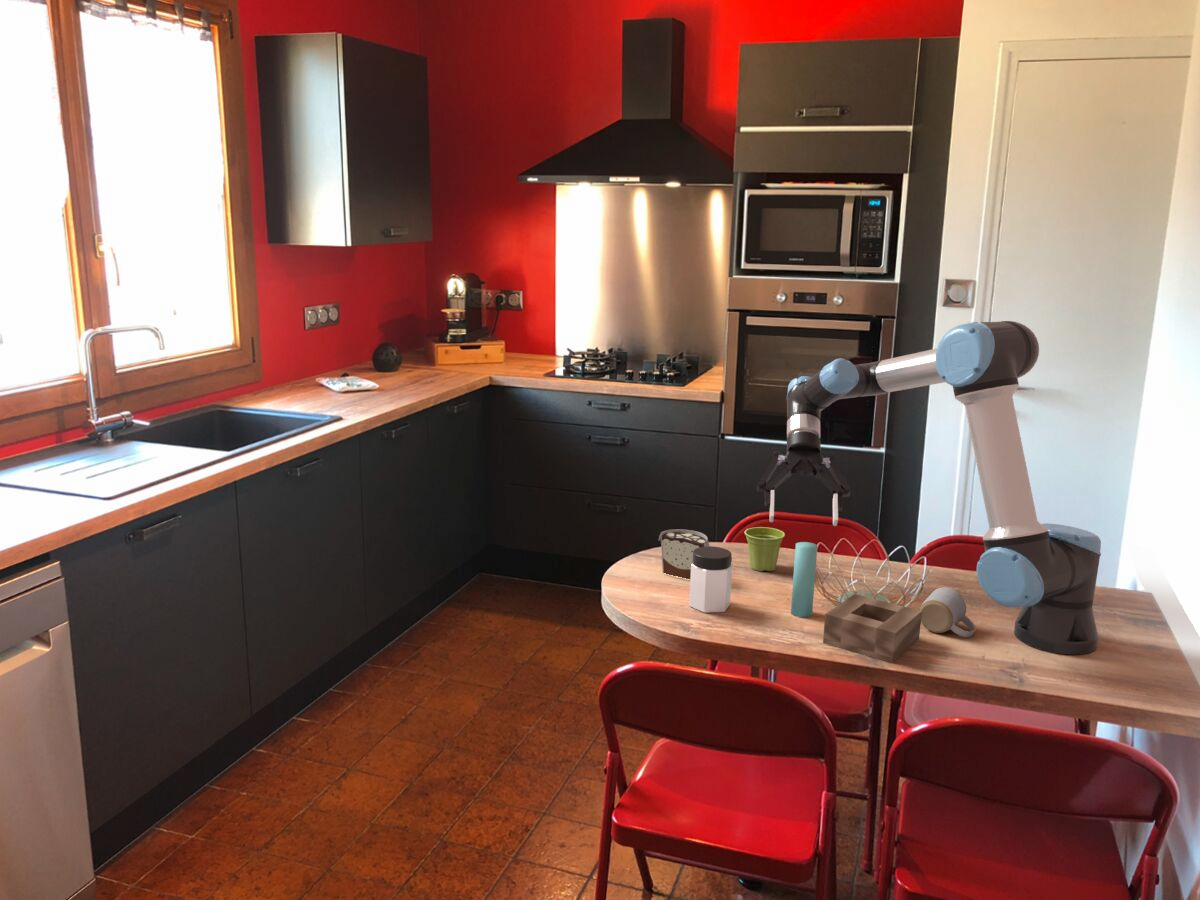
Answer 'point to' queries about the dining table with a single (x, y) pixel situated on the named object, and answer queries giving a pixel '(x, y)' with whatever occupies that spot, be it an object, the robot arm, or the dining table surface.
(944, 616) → the ceramic mug
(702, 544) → the food container
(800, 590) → the pin
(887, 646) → the hole block
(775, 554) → the plant pot
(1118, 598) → the dining table surface
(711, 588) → the jar
